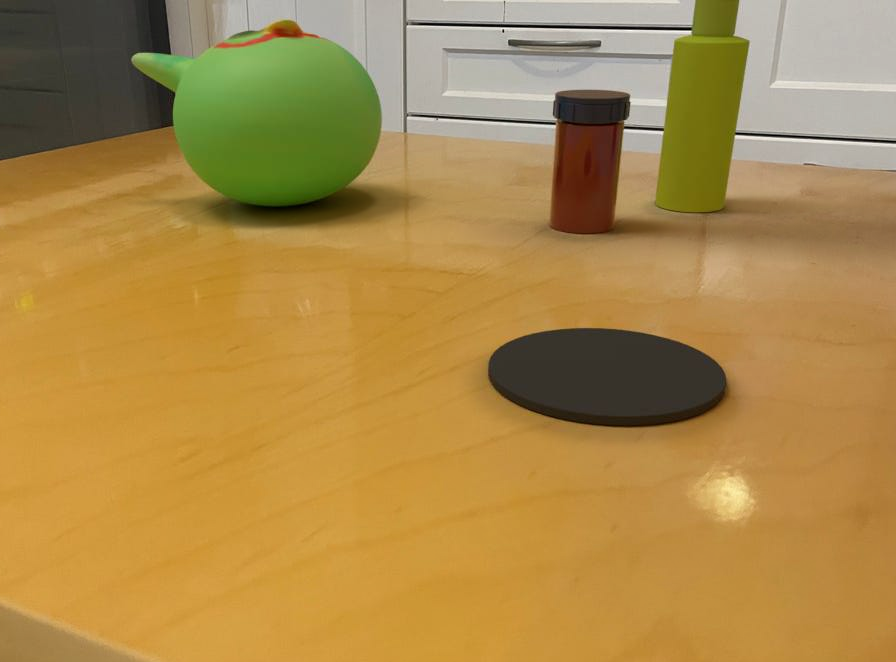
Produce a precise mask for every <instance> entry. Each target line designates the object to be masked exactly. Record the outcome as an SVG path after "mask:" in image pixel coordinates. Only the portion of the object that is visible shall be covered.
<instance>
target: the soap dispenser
mask: <svg viewBox="0 0 896 662" xmlns="http://www.w3.org/2000/svg"><path fill="white" fill-rule="evenodd" d="M740 2H741V1H740V0H695V1H694V9H693V17H692V25H691V34H690V35H689V34H688V35H684V36H680V37H677V38H675V39H674V42H673V50H672V56H671V57H672V58H671V65H670V66H671V67H670V75H669V83H668V90H667V91H668V92H667V99H666V108H665V117H664V125H663V133H662V134H663V135H662V141H661V149H660V157H659V164H658V165H659V166H658V173H657V181H656V190H655V198H654V199H655V200H654V205H656V206H657V207H658V208H662V209H665V210H669V211H673V212H681V213H712V212H717V211H720V210H723V209H724V207H725V202H726V196H727V189H728V183H729V177H730V172H731V171H730V170H731V164H732V157H733V151H734V145H735V138H736V131H737V125H738V119H739V112H740V106H741V100H742V93H743V88H744V87H743V86H744V80H745V74H746V67H747V61H748V57H749V56H748V55H749V48H750V42H751V41H750V40H749V39H747V38H744V37H742V36H737V35H735V34H736V27H737V20H738V14H739V8H740V7H739V6H740Z"/></svg>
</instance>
